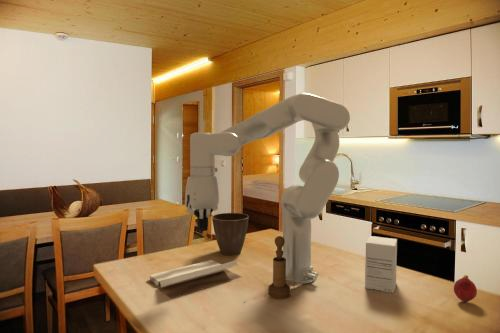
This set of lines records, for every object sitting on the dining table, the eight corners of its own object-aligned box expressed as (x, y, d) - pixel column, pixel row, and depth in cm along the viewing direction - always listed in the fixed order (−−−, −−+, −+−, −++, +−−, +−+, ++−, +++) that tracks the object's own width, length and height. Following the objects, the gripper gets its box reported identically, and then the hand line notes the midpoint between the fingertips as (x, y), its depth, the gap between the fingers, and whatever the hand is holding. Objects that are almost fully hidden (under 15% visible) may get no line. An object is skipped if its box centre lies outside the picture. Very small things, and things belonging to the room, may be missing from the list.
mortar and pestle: (275, 301, 106) (275, 240, 104) (264, 292, 111) (264, 235, 110) (294, 296, 109) (294, 237, 107) (282, 288, 114) (283, 232, 113)
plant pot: (204, 256, 146) (204, 217, 145) (227, 247, 158) (227, 211, 157) (234, 263, 137) (233, 222, 136) (255, 253, 150) (255, 215, 148)
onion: (476, 308, 101) (477, 280, 100) (452, 303, 104) (453, 276, 103) (476, 300, 106) (477, 274, 105) (453, 296, 109) (454, 270, 108)
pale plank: (237, 265, 121) (236, 260, 121) (172, 283, 106) (171, 277, 106) (224, 269, 127) (223, 264, 127) (161, 287, 112) (160, 281, 112)
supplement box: (368, 278, 123) (369, 235, 122) (396, 283, 119) (397, 238, 118) (363, 288, 115) (365, 242, 113) (394, 293, 111) (395, 245, 110)
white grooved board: (241, 280, 121) (241, 272, 121) (171, 302, 105) (171, 293, 104) (213, 266, 134) (213, 259, 134) (147, 284, 118) (146, 275, 117)
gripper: (215, 170, 120) (215, 224, 121) (175, 172, 110) (175, 231, 112) (229, 171, 114) (228, 228, 116) (187, 174, 105) (187, 236, 106)
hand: (202, 230), depth 114 cm, fingers closed
